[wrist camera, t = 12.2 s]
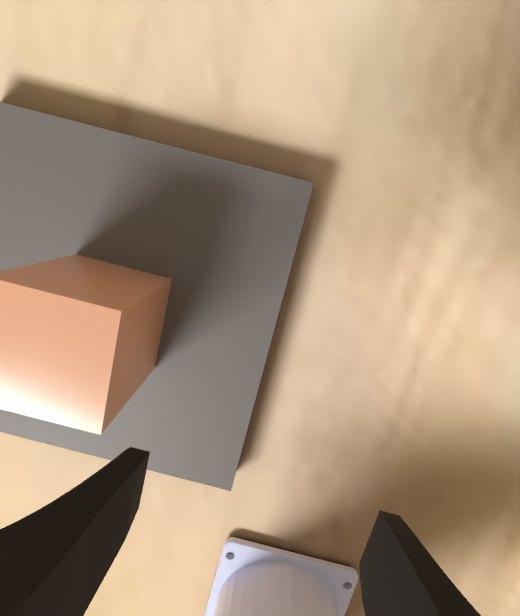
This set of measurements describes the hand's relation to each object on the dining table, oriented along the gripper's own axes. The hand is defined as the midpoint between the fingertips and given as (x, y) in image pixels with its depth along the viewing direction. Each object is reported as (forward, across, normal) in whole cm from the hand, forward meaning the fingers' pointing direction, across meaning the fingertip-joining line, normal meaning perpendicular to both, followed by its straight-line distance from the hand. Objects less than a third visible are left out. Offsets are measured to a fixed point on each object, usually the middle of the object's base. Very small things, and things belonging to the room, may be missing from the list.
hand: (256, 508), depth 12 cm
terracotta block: (+8, +8, -2) cm, 11 cm away
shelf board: (+9, +8, -2) cm, 13 cm away
